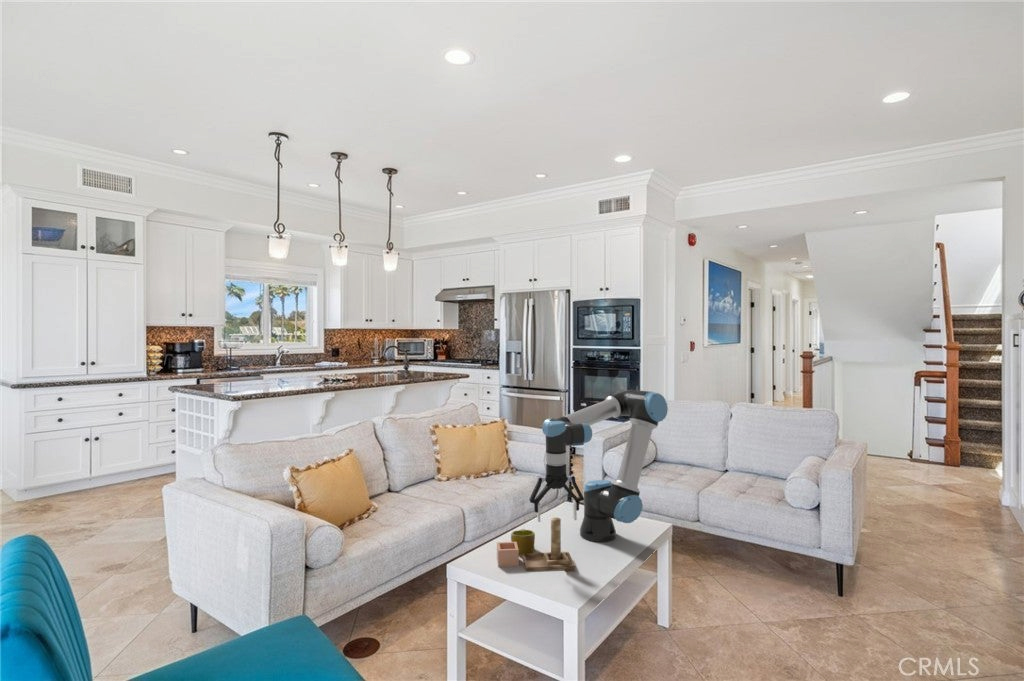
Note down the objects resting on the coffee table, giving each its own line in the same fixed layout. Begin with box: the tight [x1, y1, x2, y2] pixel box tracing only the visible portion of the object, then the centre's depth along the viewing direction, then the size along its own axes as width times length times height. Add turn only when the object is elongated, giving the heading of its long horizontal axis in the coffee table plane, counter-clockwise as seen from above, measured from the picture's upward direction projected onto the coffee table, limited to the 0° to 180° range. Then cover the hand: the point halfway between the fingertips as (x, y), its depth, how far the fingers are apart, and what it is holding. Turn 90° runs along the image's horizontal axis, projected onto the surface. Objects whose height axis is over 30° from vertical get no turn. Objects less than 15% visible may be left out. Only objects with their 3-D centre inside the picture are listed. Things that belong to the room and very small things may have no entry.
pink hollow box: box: [496, 541, 520, 568], centre depth 201 cm, size 8×8×7 cm
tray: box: [521, 551, 576, 573], centre depth 200 cm, size 18×12×3 cm, turn 96°
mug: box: [510, 528, 536, 556], centre depth 213 cm, size 12×10×10 cm
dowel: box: [550, 517, 562, 560], centre depth 200 cm, size 4×4×16 cm
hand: (556, 520), depth 201 cm, fingers open, 13 cm apart
